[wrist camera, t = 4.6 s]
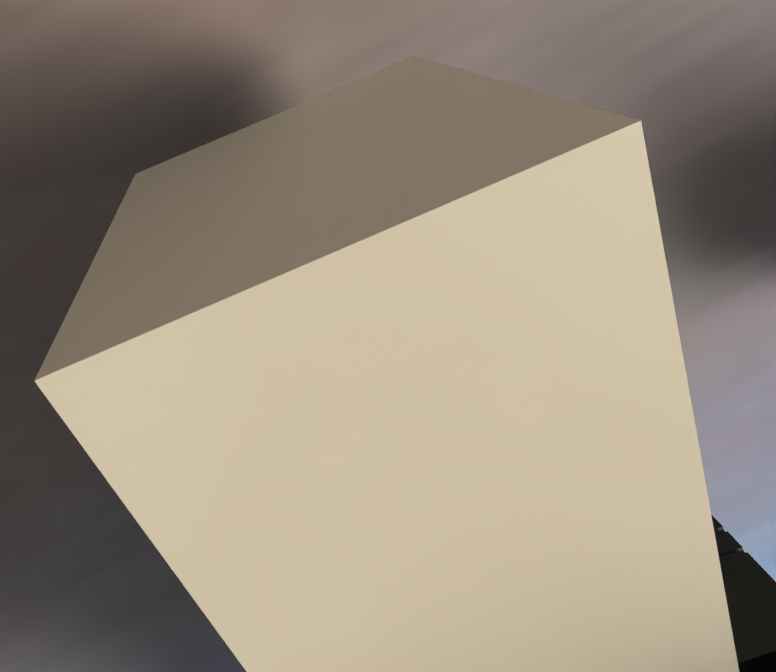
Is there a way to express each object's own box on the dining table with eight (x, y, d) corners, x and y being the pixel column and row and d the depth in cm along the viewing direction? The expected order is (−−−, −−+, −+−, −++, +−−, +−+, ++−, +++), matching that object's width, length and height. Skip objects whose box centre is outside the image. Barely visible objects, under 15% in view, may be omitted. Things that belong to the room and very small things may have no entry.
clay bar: (135, 173, 8) (34, 379, 4) (414, 56, 8) (641, 120, 4) (477, 796, 15) (587, 1139, 10) (629, 726, 15) (804, 1036, 10)
